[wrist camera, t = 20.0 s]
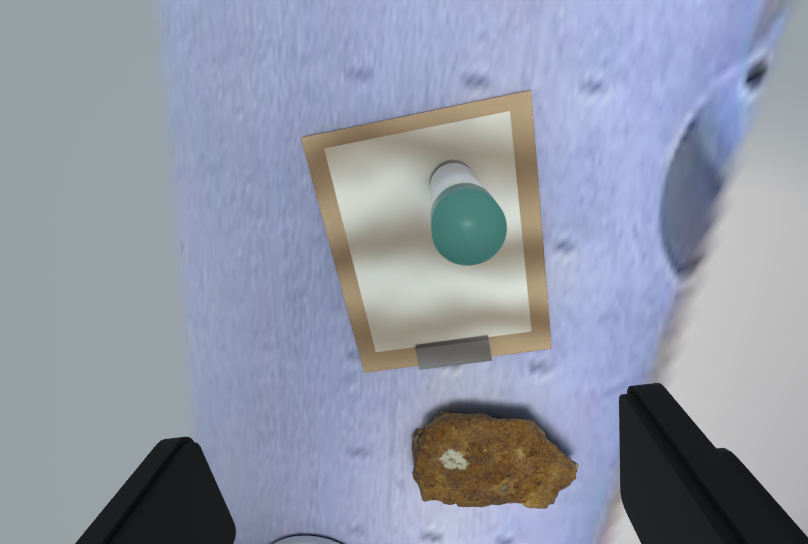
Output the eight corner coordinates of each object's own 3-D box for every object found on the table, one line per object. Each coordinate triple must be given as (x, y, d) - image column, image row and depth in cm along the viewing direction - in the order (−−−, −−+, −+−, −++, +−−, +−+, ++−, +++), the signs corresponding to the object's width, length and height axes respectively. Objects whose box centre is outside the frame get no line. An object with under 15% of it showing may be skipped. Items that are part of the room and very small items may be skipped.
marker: (474, 206, 31) (504, 265, 20) (427, 206, 31) (431, 265, 20) (476, 158, 30) (509, 192, 18) (428, 158, 30) (431, 193, 19)
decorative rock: (577, 395, 38) (411, 393, 40) (591, 425, 34) (406, 421, 36) (568, 494, 42) (416, 488, 43) (581, 532, 38) (413, 524, 40)
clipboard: (549, 344, 36) (554, 354, 34) (365, 368, 38) (362, 378, 36) (529, 90, 29) (533, 90, 27) (303, 137, 31) (297, 138, 29)
